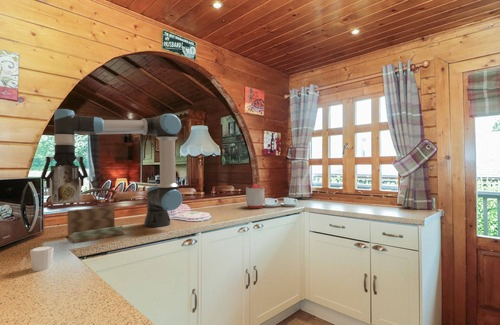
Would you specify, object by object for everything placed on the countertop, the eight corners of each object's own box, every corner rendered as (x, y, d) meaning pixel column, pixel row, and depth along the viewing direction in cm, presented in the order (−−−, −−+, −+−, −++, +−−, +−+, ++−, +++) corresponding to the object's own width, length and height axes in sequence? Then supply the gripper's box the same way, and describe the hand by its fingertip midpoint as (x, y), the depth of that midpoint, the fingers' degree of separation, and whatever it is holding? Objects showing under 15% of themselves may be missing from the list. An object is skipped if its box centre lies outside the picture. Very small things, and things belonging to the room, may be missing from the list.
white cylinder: (28, 268, 99) (28, 248, 99) (52, 263, 104) (51, 244, 104) (31, 273, 94) (31, 252, 94) (55, 268, 99) (55, 248, 99)
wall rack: (113, 228, 157) (113, 205, 157) (124, 234, 144) (123, 209, 144) (67, 236, 142) (67, 210, 142) (74, 243, 129) (74, 215, 129)
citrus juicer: (254, 205, 240) (254, 182, 240) (268, 207, 227) (268, 183, 227) (240, 207, 230) (240, 183, 230) (254, 210, 217) (254, 184, 217)
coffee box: (72, 200, 129) (72, 165, 129) (80, 200, 126) (79, 165, 126) (50, 202, 122) (49, 165, 121) (57, 203, 118) (57, 165, 118)
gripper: (91, 145, 134) (91, 191, 134) (31, 144, 119) (32, 196, 119) (95, 144, 129) (96, 192, 129) (33, 143, 113) (34, 197, 113)
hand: (65, 194), depth 124 cm, fingers closed on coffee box, 10 cm apart
